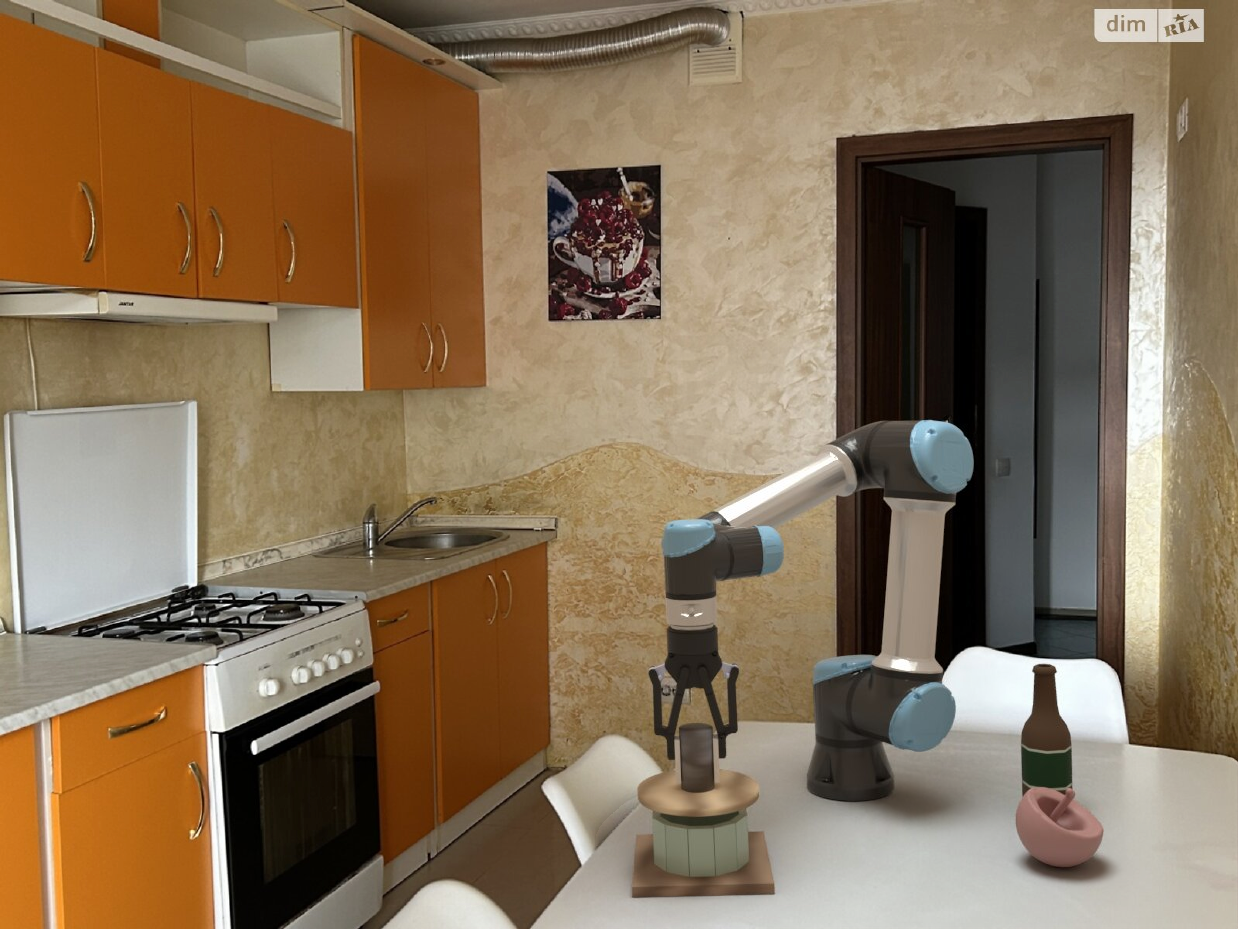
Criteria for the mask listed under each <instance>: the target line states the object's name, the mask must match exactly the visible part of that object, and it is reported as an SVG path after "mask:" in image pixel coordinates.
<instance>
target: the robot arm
mask: <svg viewBox="0 0 1238 929" xmlns="http://www.w3.org/2000/svg"><path fill="white" fill-rule="evenodd" d="M974 462H975V461H974V454H973V449H972V446H971V443H970V441H969V439H968V438H967V437H966V436H965V435H964V432H963V431H962V430H961V429H960V428H958V427H957V426H956V425H954V424H953V423H950V422H947V421H938V420H932V419H928V420H927V419H926V420H924V419H923V420H880V421H875V422H872V423H869V424H866V425H863V426H861V427H859V428H856V429H853V430H852V431H850V432H847V433H846V434H844V435H842V436H840V437H838V438H837V439H833V440H832V441H831V442H828V443H827V444H824V445H822V446H821V447H820V448H819V449H818V450H817V452H816V454H815V457H812V458H810V459H809V460H807V461H804V462H803V463H801V464H799V465H798V466H795V467H793V468H792V469H790V470H787V471H786V472H784V473H782V474H780V475H778V476H776V477H774V478H772V479H770V480H768V481H767V482H765V483H764V484H762V485H759V486H757V487H755V488H753V489H752V490H749V491H748V492H746V493H744V494H742V495H740V496H739V497H736V498H735V499H733V500H731V501H729V502H726V503H725V504H722V505H721V506H720V507H717V508H716V509H715V508H714V510H711V511H710V512H707V513H705V514H703V515H702V516H700V517H697V518H695V519H694V518H693V519H691V518H690V519H677V520H676V519H675V520H672V521H668V523H666V524H665V526H664V527H663V528H664V529H663V534H662V536H661V550H662V555H663V569H664V572H663V573H664V591H665V597H664V598H665V620H666V623H667V624H668V625H669V626H668V627H667V628H666V645H667V646H666V647H667V656H666V659H665V660H664V663H662V664H659V665H657V666H654V665H650V667H649V668H648V677H649V680H650V682H651V686H652V700H653V702H652V703H653V704H652V706H653V733H654V735H655V736H661V737H664V738H665V739H666V757H667V759H668V760H669V761H674V762H675V764H674V765H675V766H674V767H675V768H674V769H675V770H676V784H680V783H681V764H680V738H679V734H676V731H677V727H678V722H679V718H680V713H681V709H682V704H683V700H684V696H685V692H686V690H690V689H693V688H695V689H700V690H701V689H703V692H704V694H705V698H706V700H707V704H708V707H709V710H710V713H711V717H712V721H713V725H714V728H715V730H716V733H713V757H714V782H715V783H720V777H719V769H720V759H726V757H727V737H728V736H729V735H731V734H737V732H738V730H739V725H738V722H739V721H738V706H737V685H736V684H737V681H738V678H739V675H740V667H739V665H738V664H736V663H732V664H731V663H727V662H724V661H722V658H721V656H720V654H719V636H718V635H719V632H718V627H717V625H715V623H717V621H718V605H717V600H718V598H717V582H723V581H729V580H738V579H745V578H746V579H747V578H753V577H754V578H755V577H757V578H761V577H762V576H766V575H769V574H773V573H776V572H777V571H778V570H779V569H780V568H781V566H782V565H783V563H784V562H783V561H784V558H785V553H784V552H785V550H784V548H785V546H784V541H783V539H782V537H781V535H780V533H779V532H778V531H777V530H776V529H777V528H779V527H781V526H783V525H785V524H787V523H788V522H791V521H792V520H794V519H796V518H798V517H799V516H802V515H803V514H805V513H807V512H809V511H811V510H812V509H814V508H816V507H818V506H820V505H821V504H823V503H824V504H825V502H827V501H829V500H831V499H832V498H834V497H837V496H839V497H844V498H845V497H849V496H851V495H852V494H854V493H857V492H858V491H863V490H867V489H883V501H885V503H886V504H887V505H888V506H889V507H890V509H891V518H890V519H891V520H890V533H889V546H888V560H887V561H888V562H887V572H886V574H887V576H886V588H885V589H886V590H885V601H884V602H885V603H884V617H883V628H882V642H881V643H882V644H881V652H880V653H879V655H877V656H876V655H872V654H853V655H841V656H834V657H829V658H824V659H822V660H820V661H818V662H816V663H815V665H814V667H813V674H812V675H813V678H812V680H813V681H812V683H811V684H812V694H813V714H814V715H813V716H814V733H815V734H814V735H815V737H814V738H815V739H814V740H815V742H814V747H813V750H812V754H811V758H810V760H809V761H810V762H809V764H808V769H807V772H806V787H807V790H809V791H810V792H811V793H812V794H815V795H817V796H819V797H822V798H826V799H830V800H837V801H849V802H850V801H853V802H855V801H856V802H857V801H860V802H861V801H869V800H875V799H879V798H882V797H886V796H888V795H890V794H891V793H892V792H894V789H895V774H894V772H893V769H892V766H891V764H890V761H889V758H888V755H887V752H886V750H885V747H884V744H883V743H885V744H887V745H891V746H894V748H897V749H900V750H903V751H905V750H908V751H912V752H917V753H921V752H927V751H930V750H932V749H934V748H936V747H937V746H939V745H940V744H941V742H942V741H943V739H945V738H947V736H948V735H949V733H950V731H951V729H952V727H953V725H954V722H955V717H956V712H957V710H956V709H957V706H956V700H955V697H954V696H953V695H952V691H951V689H949V687H947V686H946V685H945V684H944V683H943V676H944V669H943V667H942V666H941V664H939V662H938V661H937V660H936V658H935V654H936V642H937V631H938V630H937V627H938V616H939V615H938V614H939V601H940V600H939V598H940V586H941V585H940V584H941V571H942V559H943V546H944V534H945V533H944V531H945V530H944V529H945V517H946V513H947V512H948V511H949V510H950V509H952V508H953V507H954V506H956V498H957V493H959V492H960V491H962V490H963V489H965V488H966V486H967V485H968V483H967V482H969V481H971V478H972V476H973V472H974ZM720 670H721V671H722V672H723V675H722V676H723V677H724V679H726V692H727V710H728V712H727V714H728V723H726V724H724V722H723V721H724V720H723V718H722V714H721V711H720V707H719V704H718V702H717V697H716V694H715V691H714V687H713V680H714V679H715V678H716V676H717V675H718V673H719V672H720ZM666 672H668V674H669V676H670V677H671V678H672V680H674V682H675V683H676V685H675V691H674V695H673V700H672V704H671V709H670V713H669V718H668V723H667V726H666V725H663V704H662V703H663V701H662V698H663V697H662V696H663V694H662V682H663V680H664V679H665V673H666Z"/></svg>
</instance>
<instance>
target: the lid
mask: <svg viewBox="0 0 1238 929" xmlns="http://www.w3.org/2000/svg"><path fill="white" fill-rule="evenodd" d="M713 734H714V726H713V725H711V724H708V723H704V722H703V723H702V722H689V723H685V724H681V725H680V726H679V727H678V735H679V738H680V764H681V783H680V784H676V769H674V770H670V771H669V770H668V771H664V772H663V771H662V772H660V773H657V774H654V775H651V776H649V777H647V778H645V779H643V780H642V781H641V782H640V783H639V784H638V786H637V800H638V802H639V803H640V804H641V805H642V806H643V807H645V808H647V809H648V810H651V811H652V812H653V811H656V812H660V813H664V814H669V815H676V816H689V817H701V816H715V815H722V814H728V813H732V812H736V811H739V810H742V809H745V808H746V809H748V808H749V807H751V806H753V805H754V804H755V803H756V802H758V800H759V798H760V785H759V784H758V782H757V781H756V780H755V779H754V778H753V777H751V776H749V775H747V774H744V773H741V772H737V771H734V770H728V769H722V768H719V777H720V783H715V782H714V757H713Z"/></svg>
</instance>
